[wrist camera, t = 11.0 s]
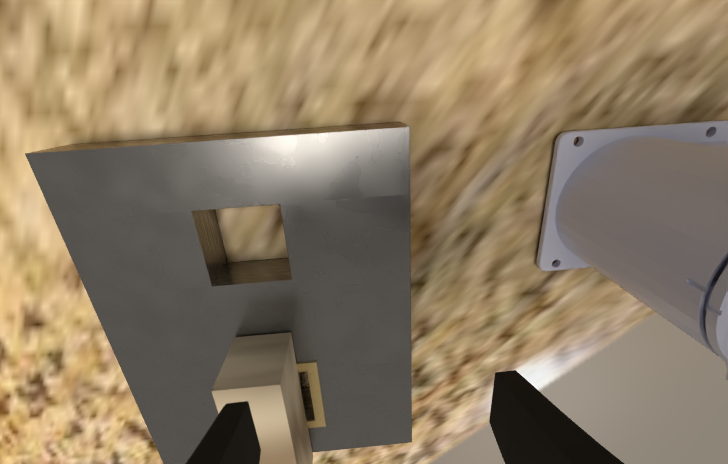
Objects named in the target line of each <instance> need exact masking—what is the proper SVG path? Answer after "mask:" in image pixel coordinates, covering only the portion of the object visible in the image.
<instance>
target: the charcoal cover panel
mask: <svg viewBox="0 0 728 464" xmlns="http://www.w3.org/2000/svg"><path fill="white" fill-rule="evenodd" d="M25 155H26V157H27V159H28V161H29V164H30V166H31V168H32V170H33V173H34V175H35V177H36V179H37V181H38V184H39V186H40V188H41V190H42V193H43V195H44V197H45V199H46V202H47V204H48V206H49V208H50V211H51V213H52V215H53V217H54V219H55V222H56V224H57V226H58V228H59V231H60V233H61V235H62V237H63V240H64V242H65V244H66V246H67V249H68V251H69V253H70V255H71V257H72V260H73V262H74V264H75V266H76V269H77V271H78V273H79V275H80V278H81V280H82V282H83V284H84V287H85V289H86V291H87V293H88V296H89V298H90V300H91V302H92V304H93V307H94V309H95V311H96V313H97V316H98V318H99V320H100V322H101V325H102V327H103V329H104V331H105V334H106V336H107V338H108V340H109V342H110V345H111V347H112V349H113V351H114V354H115V356H116V358H117V360H118V363H119V365H120V367H121V369H122V372H123V374H124V376H125V378H126V381H127V383H128V385H129V387H130V389H131V392H132V394H133V396H134V398H135V401H136V403H137V405H138V407H139V410H140V412H141V414H142V416H143V419H144V421H145V423H146V425H147V427H148V430H149V432H150V434H151V436H152V439H153V441H154V443H155V445H156V448H157V450H158V452H159V454H160V457H161V459H162V461H163V463H164V464H185V463H186V462H187V461H188V459H189V458H190V456H191V455H192V453H193V452H194V450H195V449H196V447H197V446H198V444H199V443H200V441H201V440H202V438H203V437H204V435H205V434H206V432H207V431H208V429H209V428H210V426H211V425H212V423H213V422H214V420H215V419H216V417H217V416H218V414H219V413H218V410H217V407H216V404H215V401H214V398H213V395H212V392H211V391H212V389H213V386H214V384H215V382H216V379H217V377H218V375H219V372H220V370H221V368H222V365H223V363H224V361H225V358H226V356H227V354H228V351H229V349H230V347H231V344H232V342H233V340H234V337H245V336H256V335H267V334H278V333H290V332H291V336H292V341H293V347H294V353H295V358H296V364H297V369H298V372H307V374H308V380H309V386H310V387H308V388H301V392H302V397H303V403H304V408H305V414H306V420H307V425H308V431H309V436H310V442H311V448H312V452H320V451H330V450H340V449H349V448H359V447H369V446H379V445H389V444H399V443H408V442H412V412H411V276H410V141H409V126H407V125H405V124H403V123H401V122H391V123H376V124H362V125H347V126H333V127H318V128H304V129H290V130H275V131H261V132H246V133H232V134H217V135H203V136H188V137H174V138H159V139H145V140H130V141H116V142H101V143H87V144H72V145H66V146H61V147H56V148H51V149H46V150H41V151H36V152H31V153H26V154H25ZM276 204H280V208H281V214H282V220H283V226H284V232H285V238H286V244H287V250H288V256H289V258H281V259H269V260H257V261H244V262H232V263H227V259H226V255H225V251H224V247H223V243H222V239H221V235H220V231H219V226H218V222H217V218H216V214H215V210H214V209H224V208H237V207H250V206H263V205H276Z"/></svg>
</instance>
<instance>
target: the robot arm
mask: <svg viewBox="0 0 728 464" xmlns="http://www.w3.org/2000/svg"><path fill="white" fill-rule="evenodd" d="M708 129H709V131H708V133H707V134H706V132H707V130H708ZM577 137H578V138H579V141H578V143H577V144H576V145H574V140H575V138H577ZM554 260H557V261H556V262H555V263H554V264H552V262H553V261H554ZM537 266H538V267H539V268H540V269H541V270H542V271H554V270H566V269H578V268H589V267H593V268H594V269H596V270H597V271H599V272H600V273H601V274H603V275H604V276H606V277H607V278H609V279H610V280H611V281H613V282H614V283H616V284H617V285H618V286H620V287H621V288H623V289H624V290H626V291H627V292H628V293H630V294H631V295H633V296H634V297H635V298H637V299H638V300H640V301H641V302H643V303H644V304H645V305H647V306H648V307H650V308H651V309H653V310H654V311H655V312H657V313H658V314H660V315H661V316H663V317H664V318H665V319H667V320H668V321H670V322H671V323H672V324H674V325H675V326H677V327H678V328H680V329H681V330H682V331H684V332H685V333H687V334H688V335H689V336H691V337H692V338H694V339H695V340H697V341H698V342H699V343H701V344H702V345H704V346H705V347H706V348H708V349H709V350H711V351H712V352H713V353H715V354H716V355H718V356H720V357H721V358H722V359H723V360H724V362H725V363H726V366H727V375H726V379H727V380H728V120H719V121H705V122H691V123H677V124H663V125H649V126H635V127H621V128H607V129H593V130H579V131H566V132H563V133H561V134H560V135H559V136H558V137H557V139H556V142H555V148H554V154H553V160H552V167H551V173H550V179H549V186H548V192H547V198H546V205H545V211H544V218H543V224H542V230H541V237H540V243H539V249H538V256H537ZM490 424H491V427H492V430H493V433H494V435H495V438H496V441H497V443H498V446H499V449H500V452H501V454H502V457H503V459H504V461H505V464H624V463H623V462H621V461H620V460H619V459H618V458H616V457H615V456H614V455H613V454H611V453H610V452H609V451H608V450H606V449H605V448H604V447H603V446H601V445H600V444H599V443H598V442H596V441H595V440H594V439H593V438H592V437H591V436H590V435H588V434H587V433H586V432H585V431H584V430H582V429H581V428H580V427H579V426H578V425H576V424H575V423H574V422H573V421H572V420H571V419H570V418H568V417H567V416H566V415H565V414H564V413H562V412H561V411H560V410H559V409H558V408H557V407H556V406H555V405H553V404H552V403H551V402H550V401H549V400H548V399H547V398H546V397H545V396H543V395H542V394H541V393H540V392H539V391H538V390H537V389H536V388H535V387H534V386H532V385H531V384H530V383H529V382H528V381H527V380H526V379H525V378H524V377H522V376H521V375H520V374H519V373H518V372H517V371H516V370H514V371H505V372H497V373H495V380H494V388H493V396H492V405H491V413H490ZM260 454H261V448H260V444H259V440H258V437H257V433H256V429H255V425H254V422H253V418H252V414H251V410H250V407H249V403H248V401H244V402H235V403H227V404H225V405H224V407H223V408H222V409H221V411H220V413H219V414H218V416H217V417H216V419H215V420H214V422H213V423H212V425H211V426H210V428H209V429H208V431H207V432H206V434H205V435H204V437H203V438H202V440H201V441H200V443H199V444H198V446H197V447H196V449H195V450H194V452H193V453H192V455H191V456H190V458H189V459H188V461H187V462H186V463H185V464H259V462H260Z"/></svg>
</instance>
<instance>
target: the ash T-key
mask: <svg viewBox="0 0 728 464" xmlns="http://www.w3.org/2000/svg"><path fill="white" fill-rule="evenodd" d="M301 378H302V372H298V369H297V364H296V358H295V353H294V347H293V341H292V336H291V332H290V333H278V334H267V335H256V336H245V337H234V340H233V342H232V344H231V347H230V349H229V351H228V354H227V356H226V358H225V361H224V363H223V365H222V368H221V370H220V372H219V375H218V377H217V379H216V382H215V384H214V386H213V389H212V391H211V392H212V395H213V398H214V401H215V404H216V407H217V410H218V413H220V411H221V409H222V408H223V407H224V405H225V404H227V403H235V402H244V401H248V403H249V407H250V410H251V414H252V418H253V422H254V425H255V429H256V433H257V437H258V440H259V444H260V448H261V454H260V462H259V464H312V461H313V453H312V448H311V442H310V436H309V431H308V425H307V420H306V414H305V408H304V403H303V397H302V392H301V386H300V385H301Z"/></svg>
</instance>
